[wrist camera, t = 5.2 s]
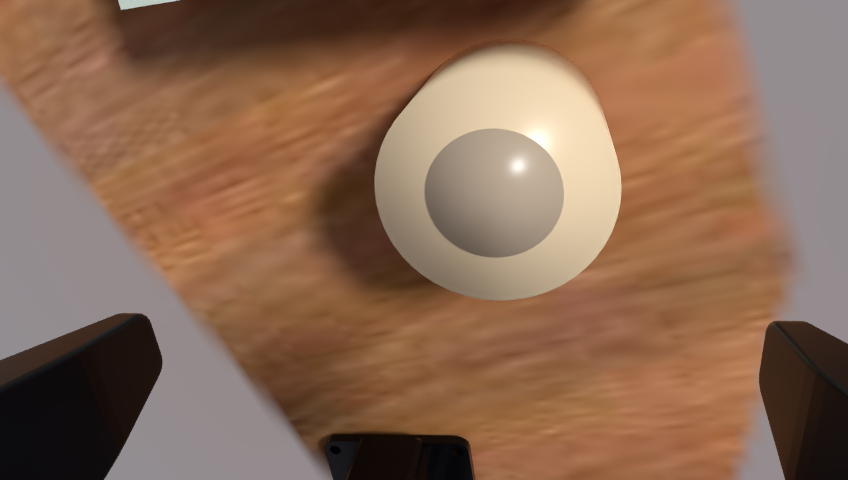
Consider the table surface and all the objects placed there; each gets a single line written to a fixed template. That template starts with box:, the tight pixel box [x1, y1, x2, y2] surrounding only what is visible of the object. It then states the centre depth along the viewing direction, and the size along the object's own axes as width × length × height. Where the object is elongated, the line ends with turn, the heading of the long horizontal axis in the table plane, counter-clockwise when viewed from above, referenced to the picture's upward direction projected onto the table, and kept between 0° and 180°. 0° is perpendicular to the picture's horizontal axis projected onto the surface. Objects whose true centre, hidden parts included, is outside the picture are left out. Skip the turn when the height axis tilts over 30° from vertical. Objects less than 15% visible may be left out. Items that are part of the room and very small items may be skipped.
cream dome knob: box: [375, 39, 621, 300], centre depth 18 cm, size 6×6×5 cm
